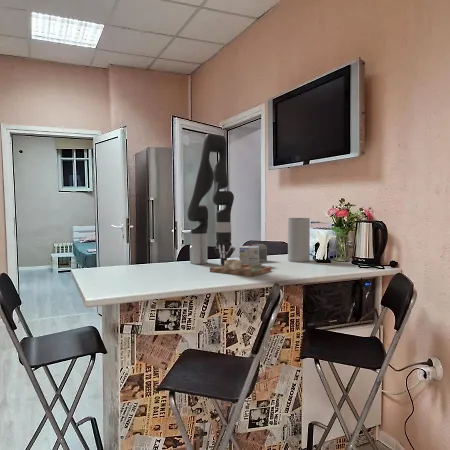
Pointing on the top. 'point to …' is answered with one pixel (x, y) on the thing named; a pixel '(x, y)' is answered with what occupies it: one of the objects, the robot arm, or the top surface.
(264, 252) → the cassette player
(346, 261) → the top surface
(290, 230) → the cylinder vase
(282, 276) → the top surface
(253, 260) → the light bulb box
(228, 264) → the birch block
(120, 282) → the top surface
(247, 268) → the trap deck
